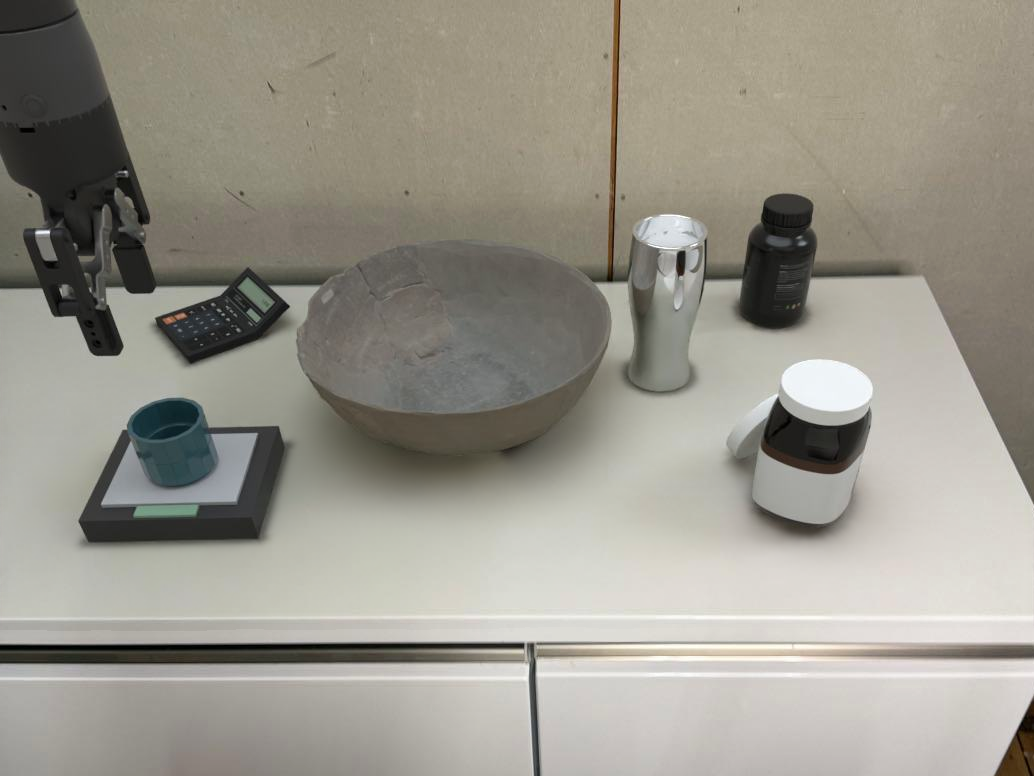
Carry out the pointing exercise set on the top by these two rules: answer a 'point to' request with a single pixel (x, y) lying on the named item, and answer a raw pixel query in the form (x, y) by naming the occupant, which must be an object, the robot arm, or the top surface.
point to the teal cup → (172, 441)
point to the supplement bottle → (779, 262)
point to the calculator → (224, 318)
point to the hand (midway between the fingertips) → (126, 321)
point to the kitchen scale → (187, 493)
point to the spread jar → (807, 442)
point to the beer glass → (664, 297)
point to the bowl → (454, 344)
